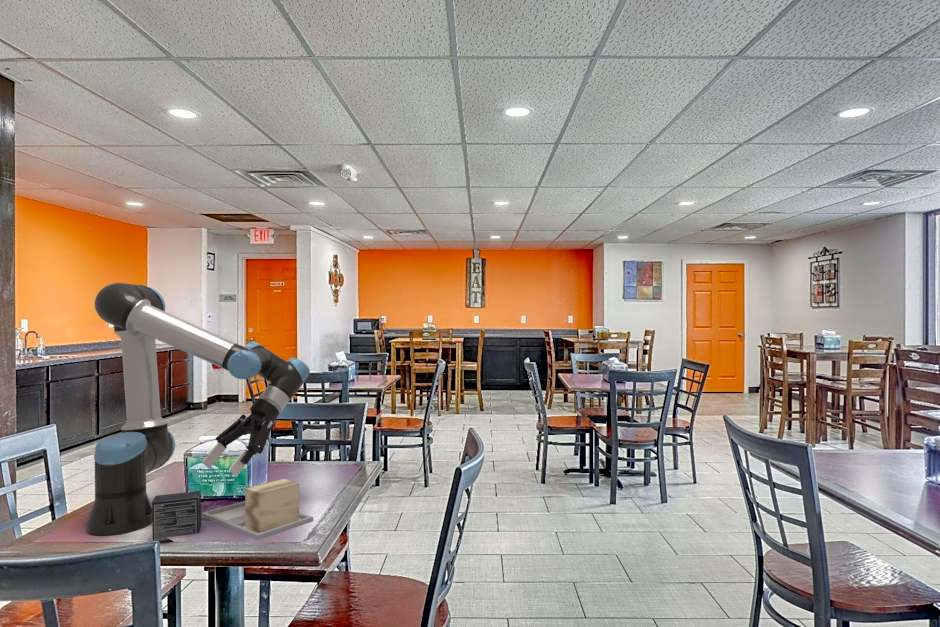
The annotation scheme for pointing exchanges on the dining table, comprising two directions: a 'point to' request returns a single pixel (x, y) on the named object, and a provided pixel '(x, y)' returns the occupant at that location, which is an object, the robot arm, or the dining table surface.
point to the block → (271, 505)
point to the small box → (176, 515)
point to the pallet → (235, 520)
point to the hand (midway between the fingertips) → (218, 469)
